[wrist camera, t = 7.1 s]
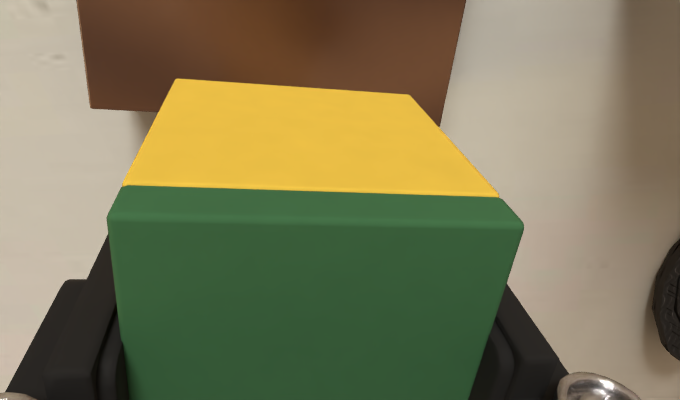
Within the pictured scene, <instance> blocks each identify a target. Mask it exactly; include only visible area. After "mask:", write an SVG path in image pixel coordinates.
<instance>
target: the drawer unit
mask: <svg viewBox="0 0 680 400" xmlns="http://www.w3.org/2000/svg"><path fill="white" fill-rule="evenodd" d="M76 1H77V9H78V16H79V24H80V32H81V40H82V48H83V56H84V63H85V71H86V79H87V87H88V95H89V102H90V107H91V108H92V109H108V110H126V111H145V112H159V110H160V108H161V106H162V104H163V102H164V100H165V98H166V97H167V95H168V93H169V91H170V89H171V87H172V85H173V83H174V81H175V79H192V80H206V81H220V82H235V83H249V84H264V85H278V86H292V87H307V88H321V89H336V90H350V91H364V92H379V93H393V94H407V95H410V96H411V97H412V98H413V99H414V100H415V101H416V103H417V104H418V105H419V106H420V107H421V108H422V109H423V110H424V111H425V113H426V114H427V115H428V116H429V117H430V118H431V119H432V120H433V121H434V123H435V124H436V125H437V126H438V127H439V126H440V123H441V118H442V113H443V108H444V103H445V99H446V94H447V89H448V84H449V80H450V75H451V70H452V65H453V60H454V56H455V51H456V46H457V41H458V36H459V32H460V27H461V22H462V17H463V13H464V8H465V3H466V0H76Z"/></svg>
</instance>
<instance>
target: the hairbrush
mask: <svg viewBox="0 0 680 400" xmlns="http://www.w3.org/2000/svg"><path fill="white" fill-rule="evenodd" d="M652 309H653V313H654V317H655V321H656V324H657V328H658V332H659V336H660V340H661V343H662V345H663V346H664V347H665V349H666V350H667V351H668V352H670V354H671V355H672V356H674V357H675V358H677V359H678V360H679V361H680V240H679V241H678V242H677V243H676V244H675V245H674V246H673V247H672V248H671V249H670V251H669V253H668V255H667V257H666V259H665V261H664V263H663V265H662V267H661V269H660V271H659V273H658V275H657V278H656V285H655V292H654V299H653V306H652Z"/></svg>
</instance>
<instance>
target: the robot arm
mask: <svg viewBox="0 0 680 400" xmlns="http://www.w3.org/2000/svg"><path fill="white" fill-rule="evenodd" d="M0 400H129V393H128V384H127V376H126V367H125V358H124V349H123V342H122V341H121V337H120V329H119V320H118V311H117V303H116V294H115V286H114V277H113V268H112V260H111V251H110V243H109V234H108V235H107V237H106V240H105V242H104V244H103V246H102V248H101V250H100V252H99V254H98V257H97V259H96V261H95V263H94V265H93V267H92V269H91V271H90V274H89V276H88V278H87V279H69V280H67V281H65V282H64V284H63V285H62V287H61V288H60V290H59V292H58V294H57V296H56V298H55V299H54V301H53V303H52V305H51V307H50V309H49V311H48V313H47V315H46V316H45V318H44V320H43V322H42V324H41V326H40V328H39V330H38V331H37V333H36V335H35V337H34V339H33V341H32V343H31V345H30V346H29V348H28V350H27V352H26V354H25V356H24V358H23V360H22V361H21V363H20V365H19V367H18V369H17V371H16V373H15V375H14V377H13V378H12V380H11V382H10V384H9V386H8V388H7V390H6V392H5V393H0ZM468 400H641V399H640V398H639V397H638V396H637V395H636V394H635V393H634V392H632V391H631V390H629V389H628V388H626V387H625V386H624V385H622V384H620V383H618V382H616V381H614V380H612V379H610V378H608V377H605V376H602V375H598V374H595V373H588V372H576V373H571V374H569V373H568V372H567V370H566V369H565V368H564V366H563V365H562V363H561V362H560V360H559V358H558V356H557V355H556V354H555V352H554V351H553V349H552V348H551V346H550V345H549V343H548V342H547V341H546V339H545V338H544V336H543V335H542V333H541V332H540V331H539V329H538V328H537V326H536V325H535V323H534V322H533V321H532V319H531V318H530V316H529V315H528V313H527V312H526V311H525V309H524V308H523V306H522V305H521V303H520V302H519V301H518V299H517V298H516V296H515V295H514V293H513V292H512V291H511V289H510V288H509V286H508V285H507V283H506V286H505V289H504V292H503V295H502V298H501V302H500V305H499V308H498V311H497V314H496V317H495V320H494V323H493V326H492V329H491V332H490V334H489V337H488V340H487V343H486V346H485V349H484V352H483V355H482V359H481V362H480V365H479V368H478V371H477V374H476V377H475V380H474V383H473V386H472V389H471V392H470V396H469V399H468Z"/></svg>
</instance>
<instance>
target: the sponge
mask: <svg viewBox="0 0 680 400" xmlns="http://www.w3.org/2000/svg"><path fill="white" fill-rule="evenodd" d="M107 225H108V234H109V243H110V251H111V260H112V268H113V277H114V286H115V294H116V303H117V311H118V320H119V329H120V337H121V341H122V342H123V349H124V358H125V367H126V376H127V384H128V393H129V400H468V399H469V396H470V392H471V389H472V386H473V383H474V380H475V377H476V374H477V371H478V368H479V365H480V362H481V359H482V355H483V352H484V349H485V346H486V343H487V340H488V337H489V334H490V332H491V329H492V326H493V323H494V320H495V317H496V314H497V311H498V308H499V305H500V302H501V298H502V295H503V292H504V289H505V286H506V283H507V280H508V277H509V274H510V271H511V268H512V265H513V262H514V258H515V255H516V252H517V249H518V246H519V243H520V240H521V237H522V234H523V231H524V224H523V222H522V221H521V220H520V218H519V217H518V216H517V215H516V214H515V213H514V212H513V211H512V209H511V208H510V207H509V206H508V205H507V204H506V203H505V202H504V201H503V200H502V199H500V198H499V194H498V193H497V191H496V190H495V189H494V188H493V187H492V186H491V185H490V184H489V183H488V181H487V180H486V179H485V178H484V177H483V176H482V175H481V174H480V173H479V171H478V170H477V169H476V168H475V167H474V166H473V165H472V164H471V163H470V161H469V160H468V159H467V158H466V157H465V156H464V155H463V154H462V153H461V151H460V150H459V149H458V148H457V147H456V146H455V145H454V144H453V143H452V141H451V140H450V139H449V138H448V137H447V136H446V135H445V134H444V133H443V131H442V130H441V129H440V128H439V127H438V126H437V125H436V124H435V123H434V121H433V120H432V119H431V118H430V117H429V116H428V115H427V114H426V113H425V111H424V110H423V109H422V108H421V107H420V106H419V105H418V104H417V103H416V101H415V100H414V99H413V98H412V97H411V96H410V95H407V94H393V93H379V92H364V91H350V90H336V89H321V88H307V87H292V86H278V85H264V84H249V83H235V82H220V81H206V80H192V79H175V81H174V83H173V85H172V87H171V89H170V91H169V93H168V95H167V97H166V98H165V100H164V102H163V104H162V106H161V108H160V110H159V112H158V114H157V116H156V118H155V120H154V122H153V124H152V126H151V128H150V130H149V132H148V134H147V136H146V138H145V140H144V142H143V144H142V146H141V148H140V150H139V152H138V154H137V156H136V158H135V159H134V161H133V163H132V165H131V167H130V169H129V171H128V173H127V175H126V177H125V179H124V181H123V184H122V187H121V189H120V191H119V193H118V195H117V197H116V199H115V201H114V203H113V205H112V207H111V209H110V211H109V213H108V216H107Z"/></svg>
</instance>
